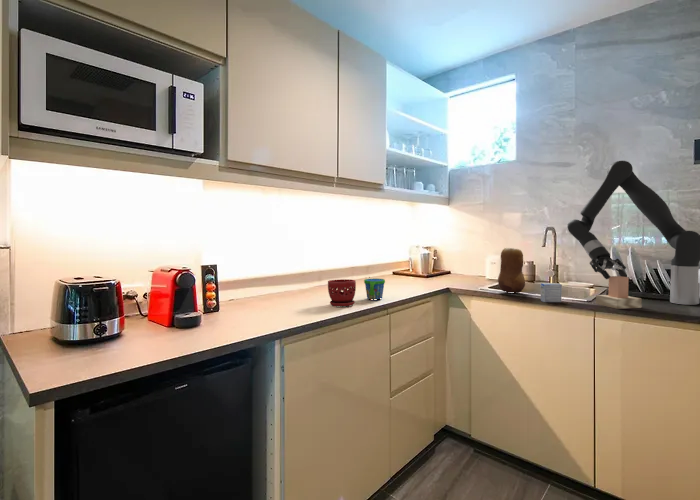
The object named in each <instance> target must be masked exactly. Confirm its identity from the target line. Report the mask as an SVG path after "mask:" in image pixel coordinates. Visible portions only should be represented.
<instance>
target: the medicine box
mask: <svg viewBox="0 0 700 500" xmlns="http://www.w3.org/2000/svg"><path fill="white" fill-rule="evenodd" d="M562 287H563V286H562V284H561V283H559V282H558V283H557V282H545V283H544V282H542V283H540V301H541V302H543V303H562V294H563V293H562V292H563V291H562V289H563V288H562Z"/></svg>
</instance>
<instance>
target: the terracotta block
mask: <svg viewBox="0 0 700 500" xmlns="http://www.w3.org/2000/svg"><path fill="white" fill-rule="evenodd" d="M629 279H630V278H629V277H628V276H627V277H622V276H620V275H610V278H609V279H608V293H607V295H608V296H611V297H616V298H628V296H629Z"/></svg>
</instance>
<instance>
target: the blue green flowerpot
mask: <svg viewBox="0 0 700 500" xmlns="http://www.w3.org/2000/svg"><path fill="white" fill-rule="evenodd" d="M363 283H364V286H365V292H366V299H367V300H368V299H380V298H382V299H383V295H384V286H385V283H386V281H385V279H384V278H366V279H364V280H363Z"/></svg>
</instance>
